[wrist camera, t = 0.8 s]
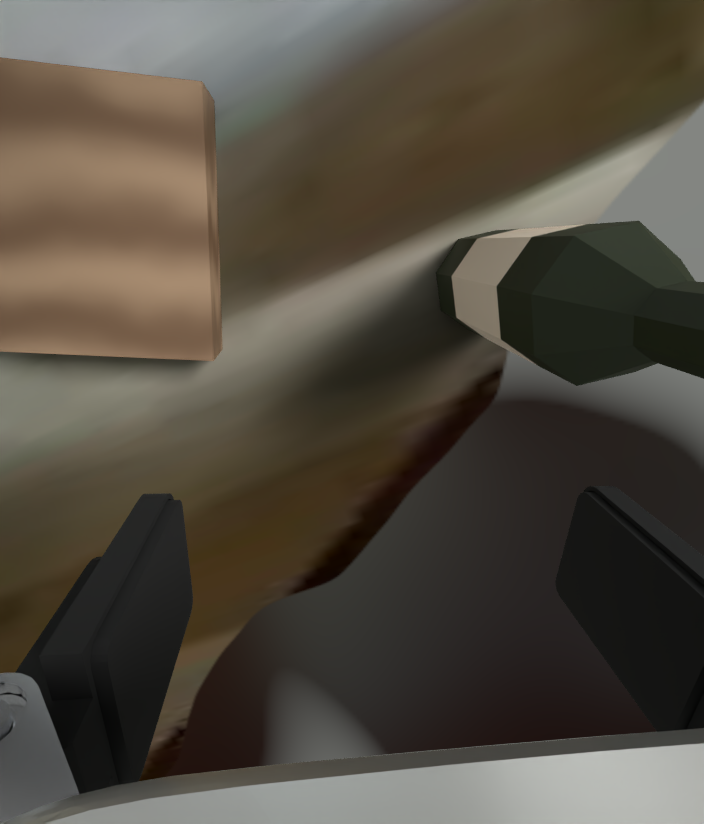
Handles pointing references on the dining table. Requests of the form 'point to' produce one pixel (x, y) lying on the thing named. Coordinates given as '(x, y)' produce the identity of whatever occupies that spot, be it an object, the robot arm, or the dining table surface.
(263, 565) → the dining table surface
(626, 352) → the wine bottle
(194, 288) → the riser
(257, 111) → the dining table surface
